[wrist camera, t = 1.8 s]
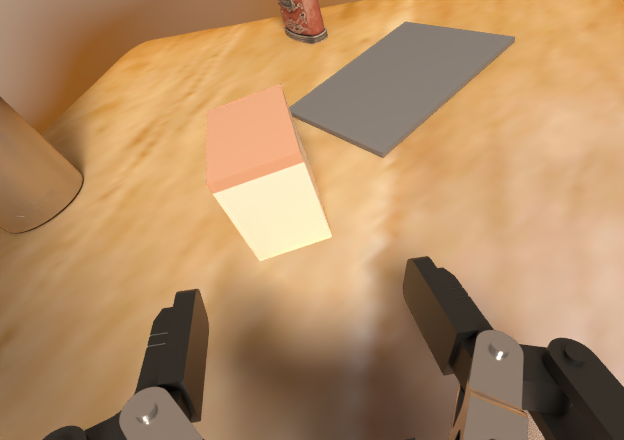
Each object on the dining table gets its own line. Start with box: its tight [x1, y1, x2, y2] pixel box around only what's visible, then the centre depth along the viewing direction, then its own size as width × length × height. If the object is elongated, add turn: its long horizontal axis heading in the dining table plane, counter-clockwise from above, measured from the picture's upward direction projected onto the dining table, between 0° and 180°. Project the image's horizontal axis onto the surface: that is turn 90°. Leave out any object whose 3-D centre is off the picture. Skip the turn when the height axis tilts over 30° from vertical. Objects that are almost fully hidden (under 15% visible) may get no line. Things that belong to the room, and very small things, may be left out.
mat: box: [289, 22, 515, 157], centre depth 35 cm, size 13×19×1 cm
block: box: [206, 84, 332, 261], centre depth 25 cm, size 8×6×8 cm
